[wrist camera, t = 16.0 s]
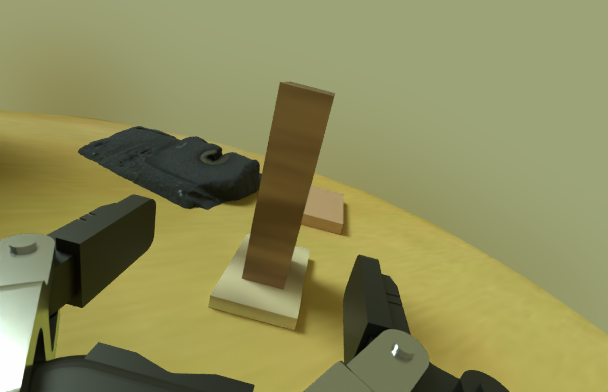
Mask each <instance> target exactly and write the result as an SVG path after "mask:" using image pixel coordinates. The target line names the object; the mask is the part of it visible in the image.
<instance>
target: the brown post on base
mask: <svg viewBox="0 0 608 392" xmlns="http://www.w3.org/2000/svg"><path fill="white" fill-rule="evenodd" d="M334 95H335V93H332V92H328V91H324V90H321V89H317V88H313V87H309V86H305V85H301V84H297V83H293V82H280V85H279V90H278V95H277V101H276V105H275V111H274V116H273V121H272V127H271V131H270V136H269V141H268V147H267V152H266V157H265V162H264V167H263V172H262V177H261V182H260V187H259V192H258V198H257V203H256V208H255V213H254V218H253V223H252V228H251V233H250V234H249V233H248V234H247V235H246V237H245V239H244V240H243V242H242V244H241V245H240V247H239V249H238V250H237V252H236V254H235V255H234V257H233V259H232V260H231V262H230V264H229V265H228V267H227V269H226V270H225V272H224V274H223V275H222V277H221V279H220V280H219V282H218V284H217V285H216V287H215V289H214V290H213V292H212V294H211V295H210V301H209V307H210V308H214V309H217V310H221V311H225V312H228V313H232V314H236V315H239V316H243V317H247V318H250V319H254V320H258V321H262V322H265V323H269V324H273V325H276V326H280V327H284V328H287V329H291V330H295V326H296V323H297V319H298V314H299V308H300V303H301V297H302V291H303V286H304V280H305V274H306V269H307V263H308V257H309V252H310V250H309V249H306V248H302V247H298V246H295V245H296V241H297V237H298V233H299V229H300V226H301V222H302V218H303V214H304V210H305V206H306V203H307V199H308V195H309V191H310V187H311V183H312V180H313V176H314V172H315V168H316V164H317V160H318V157H319V153H320V149H321V145H322V141H323V137H324V134H325V130H326V126H327V122H328V118H329V114H330V111H331V106H332V103H333V99H334Z"/></svg>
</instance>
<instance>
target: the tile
mask: <svg viewBox="0 0 608 392" xmlns="http://www.w3.org/2000/svg"><path fill="white" fill-rule="evenodd" d="M301 224H303V225H306V226H310V227H314V228H317V229H321V230H325V231H328V232H332V233H336V234H340V233H341V230H342V227H343V194H341V193H337V192H333V191H330V190H326V189H322V188H318V187H315V186H311V187H310V191H309V195H308V199H307V203H306V206H305V210H304V214H303V218H302V222H301Z"/></svg>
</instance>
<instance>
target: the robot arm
mask: <svg viewBox="0 0 608 392" xmlns="http://www.w3.org/2000/svg"><path fill="white" fill-rule="evenodd" d="M155 214H156V203H155V201H154V200H153V199H150V198H146V197H142V196H138V195H131V196H129V197H127V198H125V199H124V200H122V201H120V202H118V203H113V204H109V205H105V206H101V207H99V208H97V209H95V210H93V211H91V212H90V213H89V214H86V215H84V216H82V217H80V218H79V220H78V219H76V220H74V221H73V222H71V223H69V224H67V225H65V226H63V227H61V228H59V229H58V230H56V231H54V232H52V233H50V234H48V235H43V234H20V235H14V236H10V237H7V238H4V239H1V240H0V392H253V389H254V385H253V384H249V383H245V382H242V381H238V380H235V379H231V378H227V377H224V376H220V375H216V374H179V373H170V372H168V371H166V370H164V369H163V368H161V367H159V366H158V365H156V364H154V363H153V362H151V361H149V360H148V359H146V358H145V357H143V356H141V355H140V354H138V353H136V352H132V351H129V350H125V349H121V348H118V347H114V346H110V345H107V344H103V343H99V342H98V343H97V345H96V346H95V347H94V348H93V349H92V350H91V351H90V352H89V353H88V354H87V355H76V356H67V357H61V358H56V359H55V355H56V347H57V339H58V331H59V323H60V308H61V307H63V306H64V305H65V304H69V305H73V306H77V307H80V308H83V307H84V306H85V305H86V304H87V303H89V302H90V301H91V300H92V299H93V298H94V297H95V296H96V295H98V294H99V293H100V292H101V291H102V290H103V289H104V288H105V287H107V286H108V285H109V284H110V283H111V282H112V281H113V280H114V279H116V278H117V277H118V276H119V275H120V274H121V273H122V272H123V271H125V270H126V269H127V268H128V267H129V266H130V265H131V264H132V263H134V262H135V261H136V260H137V259H138V258H139V257H140V256H141V255H143V254H144V253H145V252H146V251H147V250H148V249H149V247H150V246H151V244H152V241H153V238H154V229H155ZM343 324H344V363H343V362H342V361H339V362H337V363H336V364H334V365H333V366H332V367H331V368H330V369H329V370H327V371H326V372H325V373H324V374H323V375H322V376H320V377H319V378H318V379H317V380H316V381H315V382H314V383H312V384H311V385H310V386H309V387H308V388H307V389H306V390H304V391H303V392H509V391H508V390H507V389H506V388H505V387H504V386H503V385H502V384H501V383H500V382H498V381H497V380H495V379H494V378H492V377H491V376H489V375H487V374H485V373H483V372H480V371H476V370H468V371H465V372H464V373H463V374H462V376H461V378H460V379H458V378H456V377H455V376H453V375H451V374H449V373H447V372H445V371H443V370H441V369H440V368H438V367H436V366H434V365H433V364H432V363H430V362H429V356H428V354H427V351H426V350H425V348H424V347H423V346H422V344H421V343H420V342H419V341H418V340H416V339H415V338H414V337H412V336H411V334H410V331H409V327H408V323H407V320H406V316H405V313H404V309H403V307H402V302H401V298H400V295H399V291H398V287H397V285H396V284H395V283H394V281H393V280H392V279H391V278H390V276H387V275H383V274H381V269H380V264H379V260H378V259H374V258H370V257H366V256H363V255H358V256H357V258H356V261H355V264H354V267H353V269H352V272H351V275H350V278H349V281H348V284H347V286H346V290H345V294H344V300H343Z"/></svg>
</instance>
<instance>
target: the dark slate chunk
mask: <svg viewBox="0 0 608 392" xmlns="http://www.w3.org/2000/svg"><path fill="white" fill-rule="evenodd" d="M78 152H79V153H80V154H81V155H84V157H86V158H88V159H90V160H93V161H95V162H97V163H98V164H99V165H102V166H103V167H105V168H107V169H109V170H111V171H112V172H114V173H116V174H118V175H119V176H122V177H123V178H125V179H128V180H130V181H132V182H133V183H135V184H138V185H140V186H141V187H143V188H146V189H148V190H150V191H151V192H153V193H156V194H158V195H160V196H162V197H163V198H166V199H168V200H169V201H171V202H173V203H175V204H177V205H179V206H181V207H183V208H193V207H195V206H196V207H200V208H204V209H206V210H209V209H210V208H212V207H214V206H217V205H219V204H222V203H224V202H226V201H232V200H239V199H241V198H244V197H246V196H248V195H250V194H252V193H255V192H256V191H257V189H259V187H260V182H261V177H262V174H261V173H259V170H260V165H259V162H258V161H257V160H251V159H249V158H247V157H245V156H241V155H239V154H237V153H233V152H231V153H226V154H224V155H223V154H222V148H221V147H219V146H218V145H215V144H209V143H207V142H206V141H205V140H203V139H201V138H199V137H188V138H185V139H182V140H179V139H176V138H175V137H174V136H171V135H169V134H166V133H164V132H161V131H159V130H152V129H148V128H144V127H141V126H137V127H132V128H130V129H127V130H124V131H121V132H118V133H116V134H114V135H112V136H110V137H109V138H104V139H101V140H97V141H94V142H91V143H89V144H88V145H85V146H84V147H82V148H80V149H79V151H78Z"/></svg>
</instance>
